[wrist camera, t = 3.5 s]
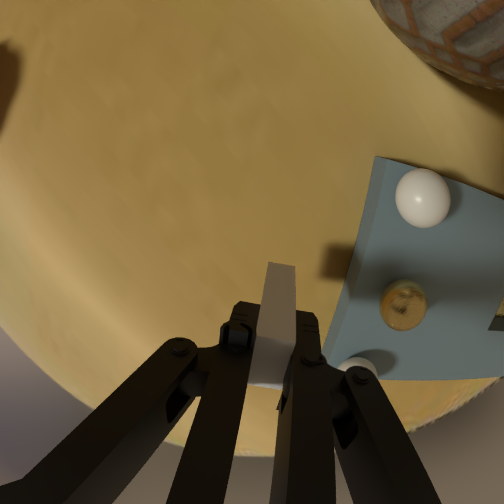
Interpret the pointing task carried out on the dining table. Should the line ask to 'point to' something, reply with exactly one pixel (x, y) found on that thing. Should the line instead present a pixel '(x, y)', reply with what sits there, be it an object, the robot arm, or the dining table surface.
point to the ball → (403, 305)
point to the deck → (425, 286)
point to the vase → (452, 36)
